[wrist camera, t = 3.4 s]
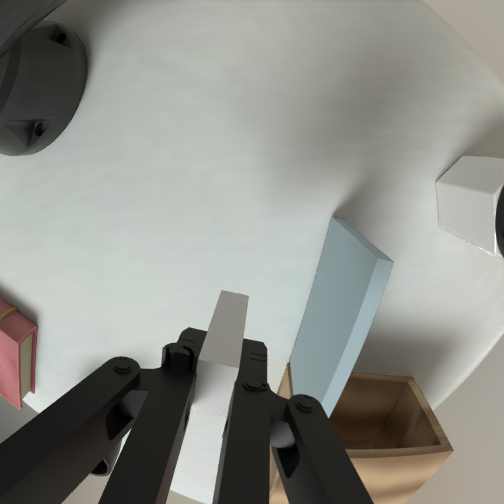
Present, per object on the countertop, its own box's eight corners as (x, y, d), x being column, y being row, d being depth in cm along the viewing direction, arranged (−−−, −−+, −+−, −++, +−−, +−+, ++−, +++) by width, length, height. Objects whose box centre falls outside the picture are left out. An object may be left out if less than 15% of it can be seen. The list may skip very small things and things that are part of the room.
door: (288, 361, 32) (297, 454, 20) (331, 216, 27) (378, 259, 15) (297, 363, 32) (309, 455, 20) (341, 218, 27) (395, 262, 15)
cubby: (287, 363, 32) (295, 456, 20) (413, 377, 32) (453, 450, 20) (262, 434, 35) (260, 515, 23) (373, 441, 36) (395, 511, 24)
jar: (421, 221, 27) (496, 258, 16) (446, 144, 25) (530, 145, 13) (479, 249, 28) (552, 291, 16) (502, 181, 25) (581, 199, 14)
